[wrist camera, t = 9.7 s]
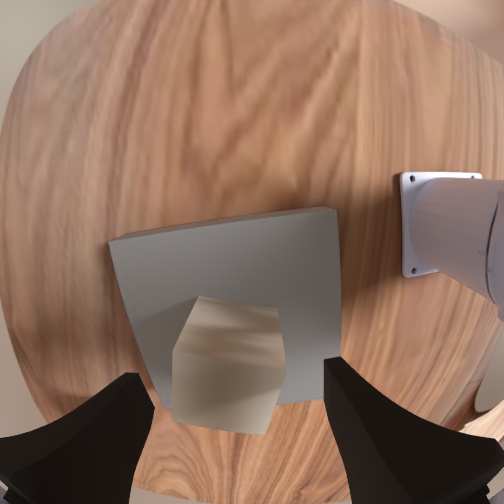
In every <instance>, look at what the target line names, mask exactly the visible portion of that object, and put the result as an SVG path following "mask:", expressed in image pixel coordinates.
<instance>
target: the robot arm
mask: <svg viewBox="0 0 504 504" xmlns="http://www.w3.org/2000/svg"><path fill="white" fill-rule="evenodd" d="M410 176H412V178H413V180H412V182H411V181H410ZM400 191H401V207H402V274H403V276H405V277H406V278H410V277H415V276H420V275H425V274H429V273H434V272H439V271H440V272H442V273H444V274H446V275H448V276H449V277H451V278H453V279H455V280H456V281H458V282H460V283H462V284H463V285H465V286H467V287H469V288H470V289H472V290H474V291H475V292H477V293H479V294H480V295H482V296H484V297H485V298H487V299H488V300H490V301H492V302H493V303H495V304H496V305H497V308H498V318H499V319H501V320H502V321H503V322H504V180H494V179H482V176H481V174H480V173H466V172H403V173H401V174H400ZM413 268H414V271H413V272H412V269H413ZM323 397H324V402H325V407H326V411H327V416H328V420H329V423H330V426H331V429H332V432H333V434H334V437H335V440H336V443H337V446H338V449H339V451H340V454H341V457H342V460H343V463H344V466H345V470H346V474H347V479H348V484H349V489H350V494H351V500H352V504H504V488H503V489H502V490H501V491H500V492H498V493H497V494H496V495H495V496H493V497H492V498H491V499H490V500H488V498H487V496H486V495H487V494H488V493H489V491H490V490H489V488H488V486H487V484H488V483H489V482H490V481H491V480H492V479H493V478H494V476H496V475H497V474H498V472H499V471H500V470H501V469H502V468H503V467H504V450H503V449H502V447H501V446H500V444H499V443H498V442H497V441H496V439H493V438H486V437H480V436H474V435H469V434H464V433H461V432H457V431H454V430H450V429H447V428H444V427H442V426H439V425H437V424H434V423H432V422H429V421H427V420H425V419H422V418H420V417H418V416H416V415H414V414H413V413H411V412H409V411H407V410H406V409H404V408H402V407H401V406H399V405H398V404H396V403H395V402H393V401H392V400H390V399H389V398H387V397H386V396H385V395H383V394H382V393H381V392H379V391H378V390H377V389H376V388H374V387H373V386H372V385H371V384H370V383H368V382H367V381H366V380H365V379H364V378H363V377H361V376H360V375H359V374H358V373H357V372H356V371H355V370H354V369H353V368H352V367H351V366H350V365H349V364H348V363H347V362H346V361H345V360H344V359H343V358H342V357H340V356H338V357H333V358H328V359H324V396H323ZM154 410H155V407H154V405H153V403H152V401H151V399H150V397H149V395H148V393H147V391H146V389H145V386H144V384H143V382H142V380H141V378H140V376H139V373H125V374H123V375H121V376H120V377H119V378H117V379H116V380H114V381H113V382H112V383H110V384H109V385H108V386H107V387H105V388H104V389H103V390H101V391H100V392H99V393H97V394H96V395H95V396H93V397H92V398H91V399H89V400H88V401H86V402H85V403H83V404H82V405H80V406H79V407H78V408H76V409H75V410H73V411H72V412H70V413H68V414H67V415H65V416H63V417H61V418H60V419H58V420H56V421H54V422H52V423H50V424H47V425H45V426H43V427H40V428H38V429H35V430H33V431H30V432H26V433H23V434H19V435H15V436H11V437H4V438H0V480H1V481H2V482H3V483H4V484H5V485H6V486H7V487H8V490H7V491H6V490H4V489H3V488H2V487H1V486H0V504H129V498H130V491H131V486H132V481H133V476H134V473H135V470H136V466H137V464H138V461H139V458H140V456H141V453H142V450H143V448H144V445H145V442H146V440H147V437H148V434H149V431H150V428H151V424H152V420H153V415H154Z"/></svg>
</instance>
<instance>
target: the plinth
mask: <svg viewBox="0 0 504 504" xmlns="http://www.w3.org/2000/svg"><path fill="white" fill-rule="evenodd" d="M108 243H109V248H110V252H111V256H112V261H113V265H114V269H115V273H116V277H117V281H118V284H119V288H120V292H121V295H122V299H123V302H124V305H125V309H126V312H127V315H128V318H129V321H130V324H131V327H132V330H133V333H134V336H135V339H136V342H137V345H138V347H139V350H140V353H141V355H142V358H143V360H144V363H145V366H146V368H147V371H148V373H149V375H150V378H151V380H152V383H153V385H154V387H155V389H156V392H157V394H158V396H159V398H160V401H161V403H162V405H163V407H164V408H167V409H172V355H173V349H174V347H175V344H176V342H177V340H178V338H179V336H180V334H181V332H182V330H183V328H184V326H185V323H186V321H187V319H188V317H189V315H190V313H191V311H192V309H193V307H194V305H195V303H196V301H197V299H198V297H199V296H205V297H210V298H216V299H222V300H227V301H233V302H239V303H245V304H252V305H258V306H265V307H271V308H277V310H278V316H279V321H280V327H281V333H282V339H283V345H284V351H285V357H286V364H287V372H286V375H285V378H284V381H283V384H282V387H281V390H280V393H279V396H278V399H277V402H276V405H281V404H289V403H297V402H303V401H310V400H316V399H321V398H324V397H323V396H324V359H328V358H333V357H338V356H340V351H341V270H340V248H339V232H338V219H337V210H335V209H332V208H329V207H326V206H318V207H309V208H300V209H291V210H283V211H274V212H266V213H258V214H251V215H243V216H236V217H228V218H221V219H214V220H207V221H201V222H194V223H188V224H181V225H175V226H169V227H163V228H157V229H151V230H145V231H139V232H134V233H128V234H126V235H123V236H121V237H119V238H116V239H114V240H112V241H109V242H108Z"/></svg>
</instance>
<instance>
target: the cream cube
mask: <svg viewBox="0 0 504 504" xmlns="http://www.w3.org/2000/svg"><path fill="white" fill-rule="evenodd" d="M286 372H287V364H286V357H285V351H284V345H283V339H282V333H281V327H280V321H279V316H278V310H277V308H271V307H265V306H258V305H252V304H245V303H239V302H233V301H227V300H222V299H216V298H210V297H205V296H199V297H198V299H197V301H196V303H195V305H194V307H193V309H192V311H191V313H190V315H189V317H188V319H187V321H186V323H185V326H184V328H183V330H182V332H181V334H180V336H179V338H178V340H177V342H176V344H175V347H174V349H173V355H172V417H173V421H176V422H180V423H185V424H190V425H195V426H200V427H205V428H211V429H217V430H223V431H230V432H238V433H246V434H256V435H265V433H266V431H267V428H268V425H269V422H270V420H271V417H272V414H273V411H274V408H275V405H276V402H277V399H278V396H279V393H280V390H281V387H282V384H283V381H284V378H285V375H286Z"/></svg>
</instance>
